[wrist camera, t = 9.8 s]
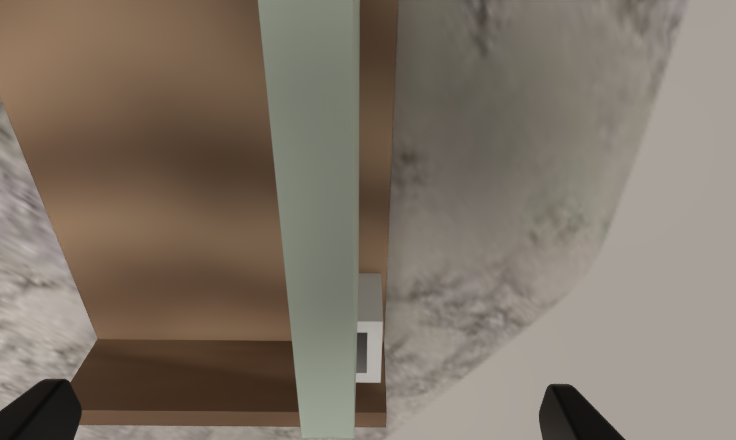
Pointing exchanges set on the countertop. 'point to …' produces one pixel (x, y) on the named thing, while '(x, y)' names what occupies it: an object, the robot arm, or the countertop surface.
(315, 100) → the door
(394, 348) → the countertop surface
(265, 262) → the cabinet floor
